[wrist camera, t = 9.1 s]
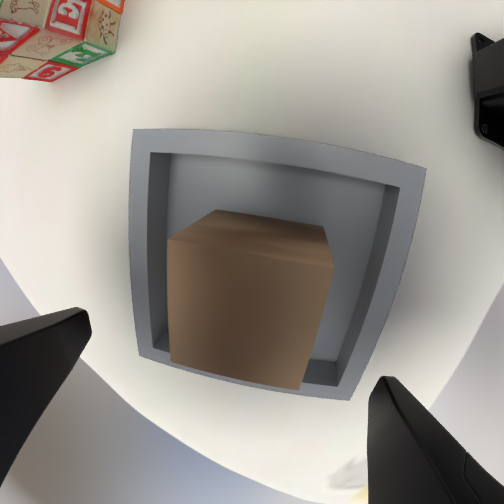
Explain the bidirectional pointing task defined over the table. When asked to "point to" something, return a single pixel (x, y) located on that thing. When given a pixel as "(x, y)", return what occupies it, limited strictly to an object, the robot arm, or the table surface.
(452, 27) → the table surface
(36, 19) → the stack of blocks
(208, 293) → the walnut cube
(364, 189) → the grey tray
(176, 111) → the table surface
